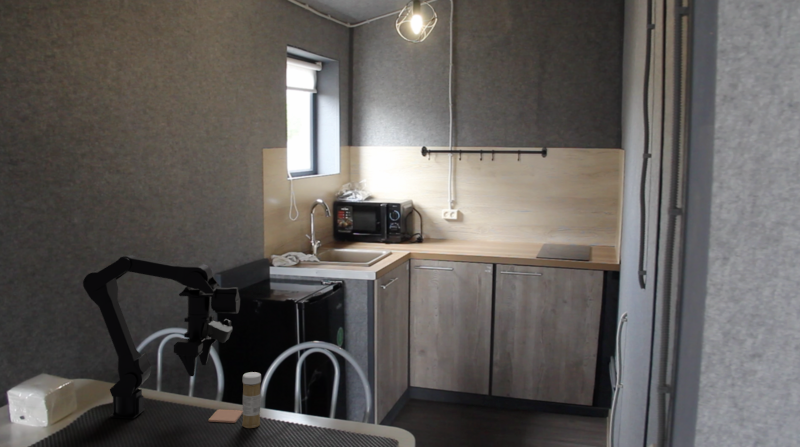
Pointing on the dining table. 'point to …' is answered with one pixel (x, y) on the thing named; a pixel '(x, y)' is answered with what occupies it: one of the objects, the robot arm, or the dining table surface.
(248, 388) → the sprinkles bottle
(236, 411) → the tile
